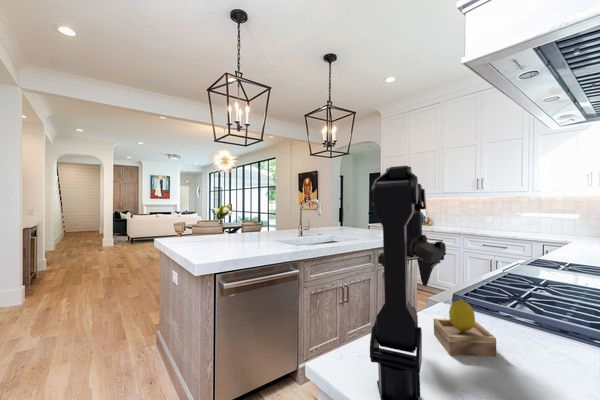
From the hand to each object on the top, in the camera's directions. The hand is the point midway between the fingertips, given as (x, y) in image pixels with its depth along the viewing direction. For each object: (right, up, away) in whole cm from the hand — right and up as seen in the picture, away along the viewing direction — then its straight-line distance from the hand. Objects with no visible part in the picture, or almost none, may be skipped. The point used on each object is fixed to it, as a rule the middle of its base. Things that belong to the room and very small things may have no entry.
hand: (412, 288), depth 76 cm
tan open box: (+9, -12, -7) cm, 17 cm away
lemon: (+9, -9, -7) cm, 15 cm away
